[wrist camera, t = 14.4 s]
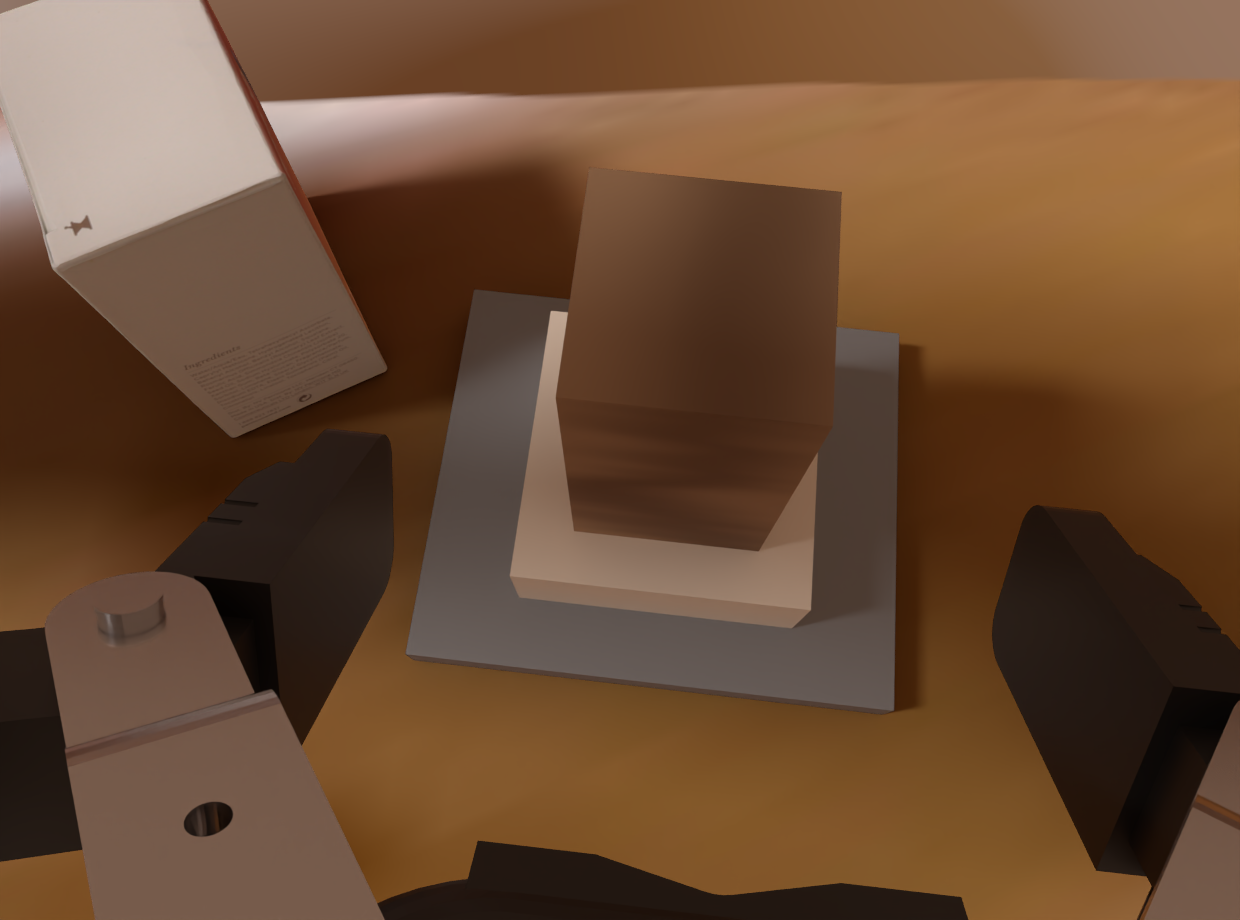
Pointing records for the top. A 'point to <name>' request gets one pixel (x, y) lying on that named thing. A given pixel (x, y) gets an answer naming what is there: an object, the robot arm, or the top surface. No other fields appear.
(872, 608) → the plate
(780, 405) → the walnut block
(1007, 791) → the top surface
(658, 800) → the top surface
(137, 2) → the small box
